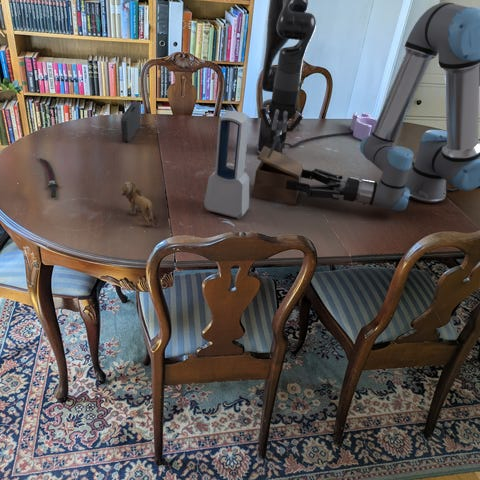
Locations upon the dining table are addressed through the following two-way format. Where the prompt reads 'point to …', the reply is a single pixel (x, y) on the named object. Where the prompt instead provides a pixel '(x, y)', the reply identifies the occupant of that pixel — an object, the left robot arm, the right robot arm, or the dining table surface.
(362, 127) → the clip
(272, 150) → the lid
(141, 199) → the lion figurine
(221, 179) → the electronic device
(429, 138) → the right robot arm
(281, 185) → the chest
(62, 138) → the dining table surface
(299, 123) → the miniature windmill
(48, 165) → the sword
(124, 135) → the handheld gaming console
